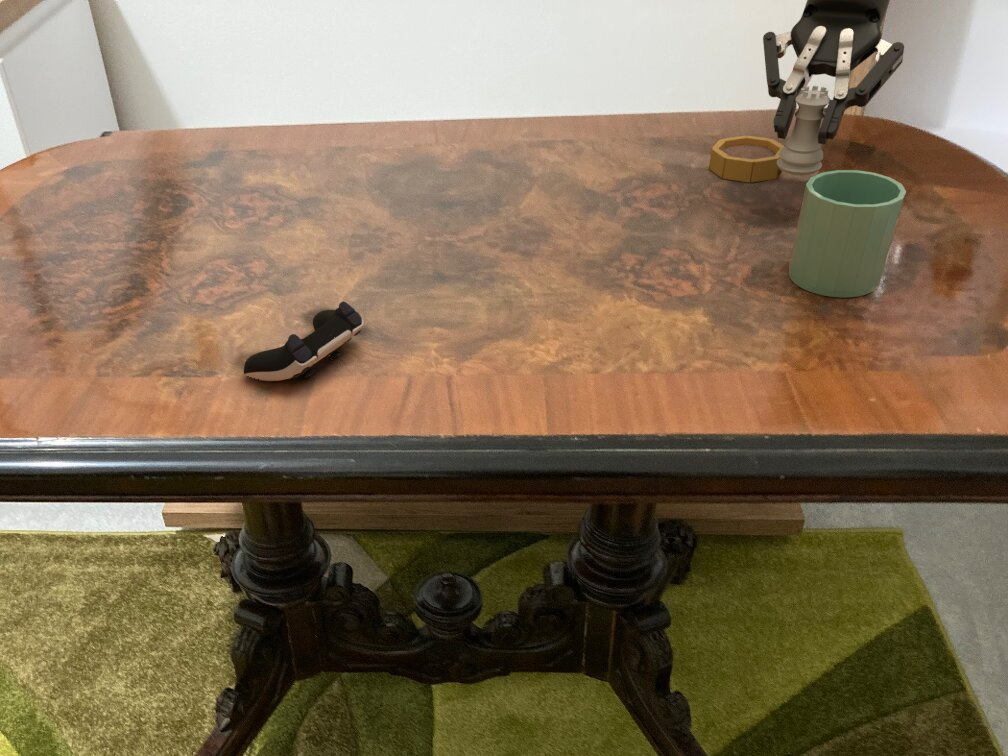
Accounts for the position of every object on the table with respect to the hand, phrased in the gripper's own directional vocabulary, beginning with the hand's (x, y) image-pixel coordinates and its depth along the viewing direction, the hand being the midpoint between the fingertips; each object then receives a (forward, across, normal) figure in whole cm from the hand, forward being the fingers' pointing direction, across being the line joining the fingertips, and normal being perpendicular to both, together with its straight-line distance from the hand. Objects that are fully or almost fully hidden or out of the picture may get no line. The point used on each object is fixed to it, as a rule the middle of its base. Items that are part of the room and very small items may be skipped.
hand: (801, 137), depth 92 cm
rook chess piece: (+2, 0, -4) cm, 5 cm away
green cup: (+13, -7, 0) cm, 15 cm away
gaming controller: (+38, +30, +25) cm, 54 cm away
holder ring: (-3, +8, -16) cm, 19 cm away
